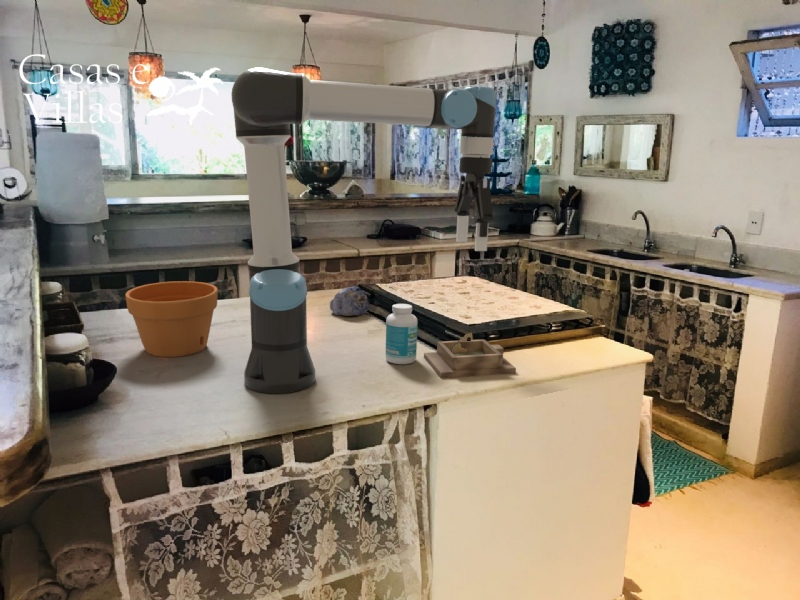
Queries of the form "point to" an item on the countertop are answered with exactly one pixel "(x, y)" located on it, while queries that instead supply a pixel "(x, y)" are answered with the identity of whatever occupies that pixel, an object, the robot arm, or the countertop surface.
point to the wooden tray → (468, 359)
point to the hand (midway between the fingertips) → (470, 246)
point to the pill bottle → (401, 335)
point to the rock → (350, 302)
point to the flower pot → (173, 316)
